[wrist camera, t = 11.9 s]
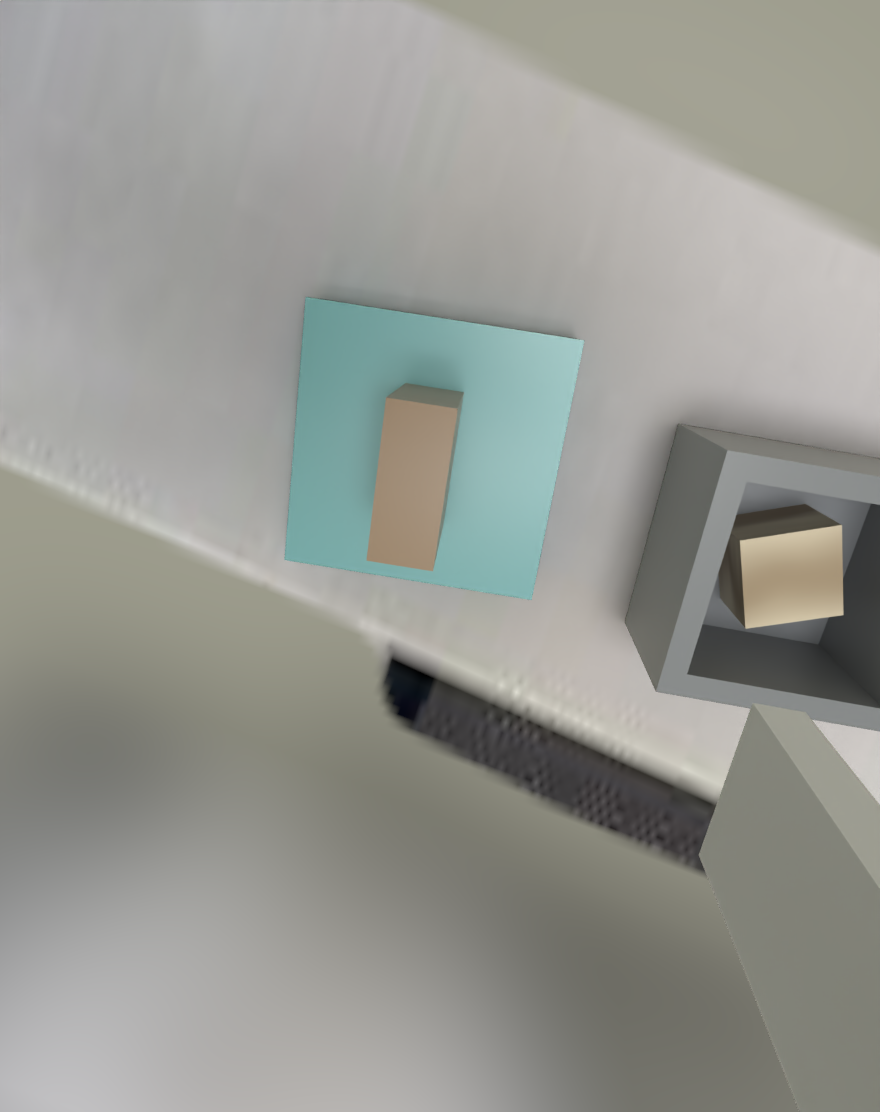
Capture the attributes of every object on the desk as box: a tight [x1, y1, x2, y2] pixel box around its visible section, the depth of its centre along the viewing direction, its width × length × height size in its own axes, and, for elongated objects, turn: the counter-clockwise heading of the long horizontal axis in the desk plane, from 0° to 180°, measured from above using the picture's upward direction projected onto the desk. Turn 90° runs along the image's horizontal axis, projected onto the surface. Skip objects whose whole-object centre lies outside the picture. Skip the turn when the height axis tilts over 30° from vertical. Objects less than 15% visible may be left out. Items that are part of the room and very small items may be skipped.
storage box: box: [625, 424, 880, 731], centre depth 30 cm, size 10×10×7 cm
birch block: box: [718, 504, 843, 629], centre depth 31 cm, size 4×4×4 cm
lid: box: [285, 297, 584, 600], centre depth 29 cm, size 12×12×8 cm
